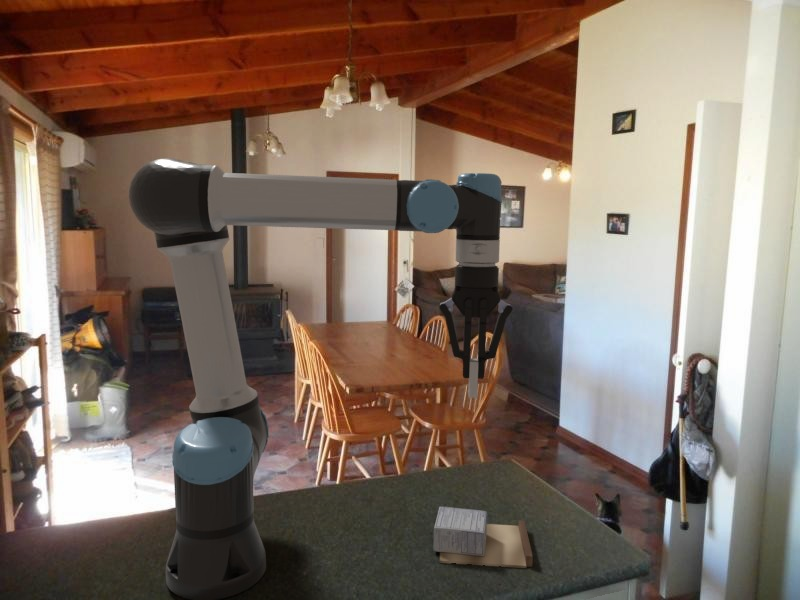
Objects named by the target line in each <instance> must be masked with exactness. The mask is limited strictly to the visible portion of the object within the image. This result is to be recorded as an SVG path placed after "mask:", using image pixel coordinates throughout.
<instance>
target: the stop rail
mask: <svg viewBox="0 0 800 600" xmlns="http://www.w3.org/2000/svg"><path fill="white" fill-rule="evenodd" d="M517 526H518V527H519V532H520V537H521V542H522V547H523V552H524V557H525V562H526V568H527V567H528V568H529V567H533V559H534V558H533V552H532V547H531V542H530V539H529V536H528V535H529V534H528V531H527V527H526V526H527V525H526V521H525V520H524V519H518V525H517Z"/></svg>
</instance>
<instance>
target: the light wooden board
mask: <svg viewBox="0 0 800 600" xmlns="http://www.w3.org/2000/svg"><path fill="white" fill-rule="evenodd" d="M518 526H519V525H514V524H513V525H511V524H495V523H487V534H486V546H485V555H484V556H475V555H466V554H456V553H447V552H439V563H440V564H451V563H456V565H467V564H472V565H471V566H483V565H485V566H488V567H499V566H501V567H502V568H505V567H506V568H516V569H517V568H518V569H527V566H526V562H525V557H524V552H523V547H522V542H521V537H520V532H519V527H518Z"/></svg>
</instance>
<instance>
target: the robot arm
mask: <svg viewBox="0 0 800 600" xmlns="http://www.w3.org/2000/svg"><path fill="white" fill-rule="evenodd" d="M128 199H129V204H130V208H131V210H132V213H133V214H134V216H135V217H136V219H137V220H138V221H139V223H140V224H141V225H142V226H144V227H145V228H146V229H148V230H150V231H152V232H154V237H155V242H156V247H157V250H158V251H159V252H160V253H162V254H163V255H165V256H166V257H167V258H168V259H169V264H170V268H171V273H172V278H173V282H174V288H175V293H176V299H177V303H178V307H179V313H180V314H179V315H180V319H181V322H182V323H181V324H182V329H183V334H184V338H185V339H184V340H185V344H186V348H187V349H186V350H187V354H188V358H189V364H190V365H189V366H190V370H191V374H192V375H191V376H192V380H193V385H194V386H193V387H194V390H195V397H194V399H192V401H191V403H190V404H189V407H188V408H189V413H190V418H191V423H190V424H188V425H187V426H185V427H184V428H183V429H181V430H180V431H179V433H177V434H176V436H175V439H174V442H173V450H172V455H171V457H172V466H173V467H172V468H173V478H174V479H173V483H174V503H175V505H174V507H175V534H174V538H173V541H172V544H171V547H170V550H169V554H168V557H167V561H166V564H165V581H166V582H165V583H166V586H167V588H168V590H170V591H171V592H172V593H173V594H174V595H176V596H178V597H180V598H183V599H187V600H221V599H226V598H230V597H234V596H235V595H238V594H240V593H243V592H245V591H247V590H249V589H251V588H252V587H253V586H254V585H256V584H257V583H258V582H259V581H261V579H262V577H263V576H264V574H265V573H266V569H267V558H266V556H267V553H266V549H265V547H264V544H263V541H262V537H260V536H261V535H260V533H259V531H258V528H257V526H256V523H255V519H254V518H255V515H254V513H255V512H254V511H255V510H254V509H255V508H254V506H255V505H254V478H255V474H256V471H257V468H258V466H259V464H260V460H261V457H262V455H263V453H264V451H265V449H266V447H267V445H268V439H269V434H270V433H269V430H270V429H269V422H268V419H267V416H266V415H265V412H264V411H263V409H262V408H261V405H260V400H259V395H258V391H257V390H256V389H254V388H252V387H251V386H249V384H247V379H246V374H245V368H244V363H243V362H244V361H243V357H242V352H241V346H240V340H239V335H238V330H237V324H236V319H235V313H234V308H233V303H232V296H231V292H230V287H229V280H228V274H227V269H226V264H225V263H226V262H225V258H224V254H223V253H224V252H223V250H224V248H225V247H226V245H227V243H228V242H229V241H230V234H229V229H228V228H229V227H228V226H243V227H245V226H247V227H270V228H271V227H272V228H273V227H275V228H278V227H279V228H307V229H309V228H310V229H311V228H313V229H335V230H336V229H339V230H340V229H342V230H343V229H344V230H374V231H375V230H377V231H378V230H379V231H399V232H421V233H426V234H438V233H441V232H443V231H445V230H455V231H456V234H455V236H456V237H455V238H456V239H455V261H456V263H458V264H456V266H455V268H454V290H453V292H452V293H451V297H450V298H449V299H447V300H446V301H442V302H441V301H440V303H439V310H440V312H441V313H442V314H443V316H444V320H445V323H446V327H447V333H448V337H449V340H450V341H449V343H450V346H451V349H452V354H453V357H454V358H458V359H461V360H462V376H463V379H468V398H469V399H478V387H479V385H478V384H479V382H478V381H479V380H484V377H485V369H486V368H485V366H486V365H485V363H486V361H487V360H490V359H495V358H496V355H497V352H498V348H499V345H500V342H501V338H502V336H503V332H504V328H505V325H506V321H507V319H508V317H509V316H510V315H511V313H512V312H513V310H514V309H513V306H512V304H510V303H507V302H505V300H503V299H501V298H502V297H501V294H500V292H499V275H500V274H499V271H500V270H499V269H500V267H498V265H496V264H498V263H499V262H500V241H501V238H500V234H501V233H500V232H501V215H502V214H501V213H502V203H503V200H502V180H501V178H500V176H499V175H497V174H495V173H489V172H488V173H486V172H485V173H484V172H482V173H481V172H480V173H478V172H475V173H474V172H472V173H468V172H466V173H461V174H459V175H458V177H457V181H456V184H447V183H445V182H443V181H441V180H439V179H425V180H408V179H401V180H400V179H398V180H397V179H387V178H386V179H385V178H365V177H364V178H358V177H341V176H339V177H334V176H313V175H312V176H311V175H289V174H288V175H287V174H267V173H266V174H265V173H264V174H261V173H260V174H259V173H238V172H237V173H236V172H235V173H234V172H226V171H224V170H223V169H222V168H221V167H220V166H219V165H217V164H215V165H213V164H198V163H193V162H187V161H183V160H180V159H176V158H168V157H167V158H157V159H156V160H155V159H154V160H151V161H150V162H147V163H146V164H144V165H143V166H142V167H140V168H139V169H138V170H137V172H136V173H135V174H134V176H133V178H132V180H131V181H130V186H129V191H128ZM454 305H455V307H456V308H457V309H458V311H459V312H460V313H461V315H462V316H463V317H464V319H463V320H464V322H463V348H462V349H460V344H459V341H458V336H457V331H456V326H455V322H454V317H453V311H454ZM496 307H498V308H497V312H498V316H497V319H496V322H495V326H494V330H493V332H492V336H491V340H490V343H489V347H488V349H487V350H486V344H487V343H486V340H487V339H486V338H487V323H488V320H487V319H488V318H487V317H488V316H490V315H491V313H492V312H493V311H494V310H495V308H496ZM472 318H478V335H477V336H478V338H477V358H472V357H471V346H472V345H471V344H472V323H473V322H472V320H473V319H472Z"/></svg>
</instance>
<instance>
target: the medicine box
mask: <svg viewBox="0 0 800 600" xmlns="http://www.w3.org/2000/svg"><path fill="white" fill-rule="evenodd" d="M487 524H488V513H487V511H485V510H480V509H469V508H460V507H450V506H439V507H438V511H437V515H436V520H435V524H434V527H433V540H432V541H433V543H432V544H433V545H432V550H433V552H437V553H440V552H447V553H456V554H466V555H475V556H484V555H485V546H486V534H487Z"/></svg>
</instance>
